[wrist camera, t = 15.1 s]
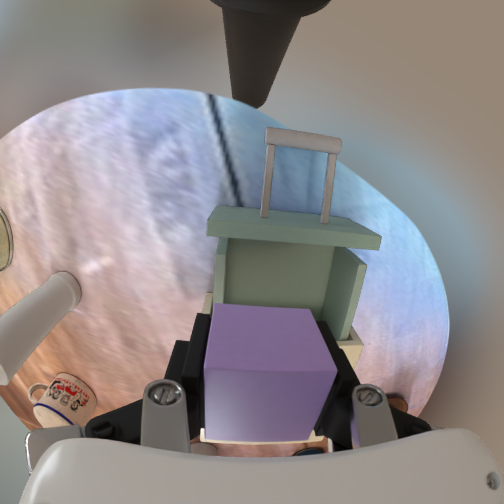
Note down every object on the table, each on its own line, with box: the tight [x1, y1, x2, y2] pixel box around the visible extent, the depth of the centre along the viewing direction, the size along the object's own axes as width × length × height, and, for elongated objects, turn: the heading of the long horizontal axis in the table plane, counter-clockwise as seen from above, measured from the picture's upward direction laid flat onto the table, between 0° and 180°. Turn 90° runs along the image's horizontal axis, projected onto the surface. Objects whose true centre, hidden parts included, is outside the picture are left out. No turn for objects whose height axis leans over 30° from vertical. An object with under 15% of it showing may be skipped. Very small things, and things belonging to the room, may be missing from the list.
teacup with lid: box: [28, 373, 96, 428], centre depth 29 cm, size 12×9×12 cm
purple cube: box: [204, 303, 337, 442], centre depth 10 cm, size 4×4×4 cm
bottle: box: [0, 272, 81, 385], centre depth 17 cm, size 5×5×25 cm
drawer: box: [206, 127, 382, 341], centre depth 24 cm, size 22×13×7 cm, turn 175°
